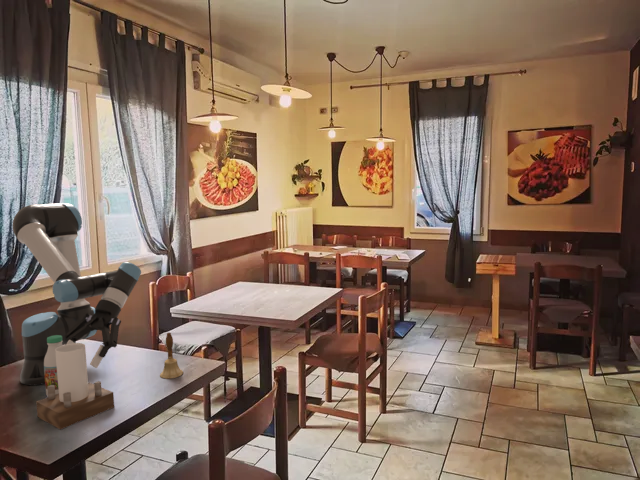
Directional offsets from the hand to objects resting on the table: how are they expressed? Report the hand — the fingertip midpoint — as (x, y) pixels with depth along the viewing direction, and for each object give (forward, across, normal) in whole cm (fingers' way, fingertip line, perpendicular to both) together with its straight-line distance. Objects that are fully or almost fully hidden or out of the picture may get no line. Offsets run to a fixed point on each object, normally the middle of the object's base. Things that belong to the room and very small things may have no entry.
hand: (77, 363), depth 150 cm
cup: (+8, +1, -7) cm, 11 cm away
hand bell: (-12, -8, -36) cm, 38 cm away
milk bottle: (+6, +18, -16) cm, 25 cm away
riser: (+12, +1, -10) cm, 16 cm away
